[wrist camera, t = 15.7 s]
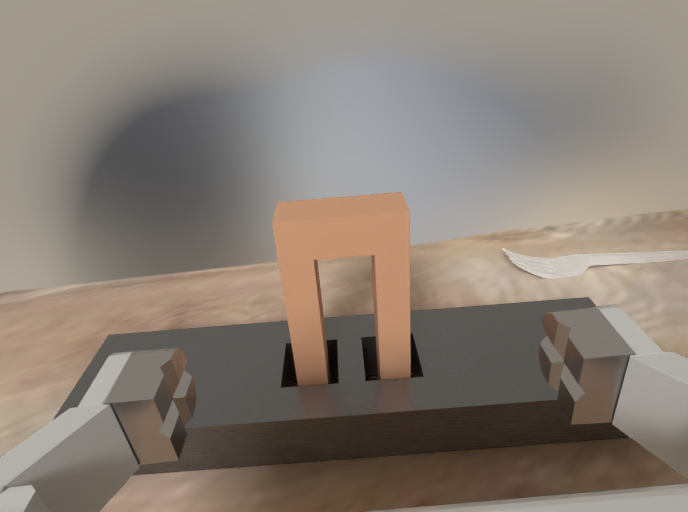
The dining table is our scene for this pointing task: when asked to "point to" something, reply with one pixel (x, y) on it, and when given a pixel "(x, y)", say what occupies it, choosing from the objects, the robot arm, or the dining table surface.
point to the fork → (587, 261)
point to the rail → (363, 389)
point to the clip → (336, 242)
